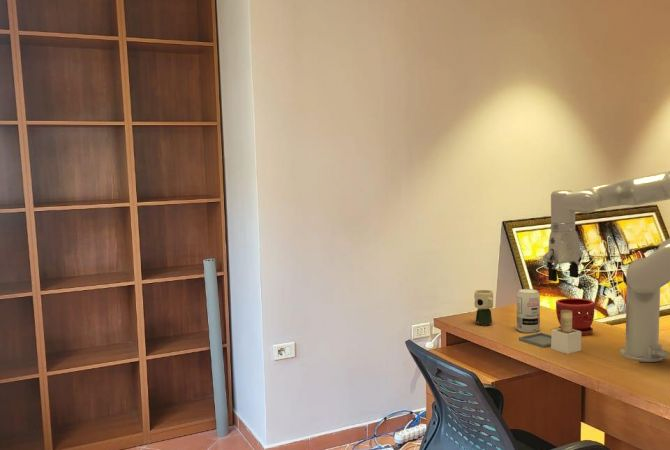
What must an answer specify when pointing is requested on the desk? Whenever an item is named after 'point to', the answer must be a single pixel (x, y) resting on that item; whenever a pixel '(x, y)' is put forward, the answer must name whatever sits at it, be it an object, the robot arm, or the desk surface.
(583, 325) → the plant pot
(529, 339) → the tray
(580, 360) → the desk surface
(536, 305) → the supplement can
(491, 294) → the character mug
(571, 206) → the robot arm
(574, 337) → the white open square box
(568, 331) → the dowel
